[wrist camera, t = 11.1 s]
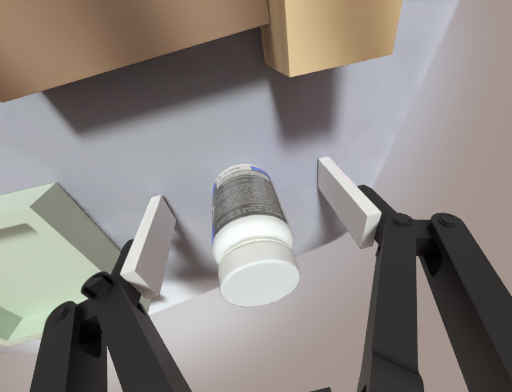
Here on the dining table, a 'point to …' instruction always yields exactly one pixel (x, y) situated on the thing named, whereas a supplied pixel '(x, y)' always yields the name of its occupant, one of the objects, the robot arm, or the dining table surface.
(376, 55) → the wooden block
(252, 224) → the pill bottle
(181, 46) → the brown cardboard box
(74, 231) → the tray
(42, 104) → the dining table surface
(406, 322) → the robot arm
